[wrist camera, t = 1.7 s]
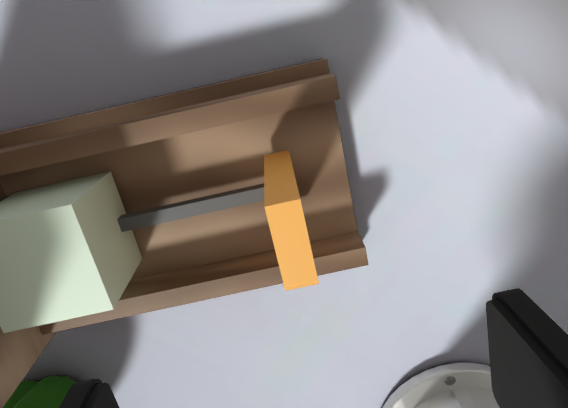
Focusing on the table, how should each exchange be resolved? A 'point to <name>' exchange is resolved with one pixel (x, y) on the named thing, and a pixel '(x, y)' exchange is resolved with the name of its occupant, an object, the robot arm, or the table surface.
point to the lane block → (119, 242)
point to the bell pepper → (40, 393)
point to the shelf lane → (195, 188)
